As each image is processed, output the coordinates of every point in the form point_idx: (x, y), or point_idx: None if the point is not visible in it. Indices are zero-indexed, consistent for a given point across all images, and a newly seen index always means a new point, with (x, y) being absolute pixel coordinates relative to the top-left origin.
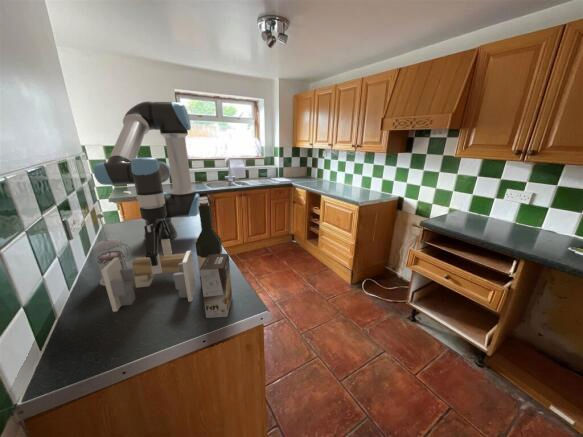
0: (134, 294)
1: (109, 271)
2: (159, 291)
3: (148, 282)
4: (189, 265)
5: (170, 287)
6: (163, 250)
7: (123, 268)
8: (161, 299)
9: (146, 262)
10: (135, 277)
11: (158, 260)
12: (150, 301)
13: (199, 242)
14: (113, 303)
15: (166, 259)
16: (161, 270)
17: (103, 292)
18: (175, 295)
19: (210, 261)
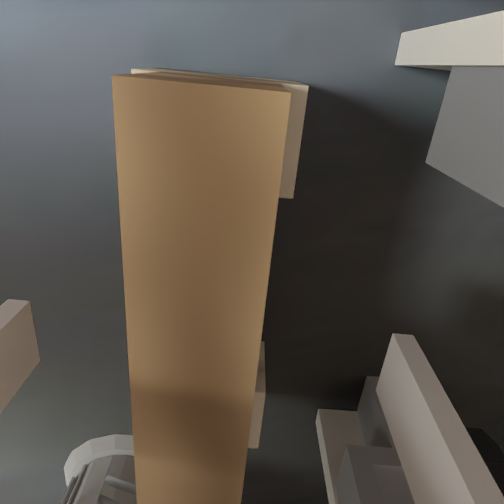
0: (376, 395)
1: None
2: (347, 280)
3: (259, 356)
4: None
5: (326, 225)
6: (4, 403)
7: (69, 492)
8: (444, 257)
9: (243, 478)
10: (258, 442)
11: (476, 457)
12: (433, 308)
13: None
14: None
15: (247, 349)
16: (409, 348)
17: (251, 491)
18: (444, 181)
19: None
